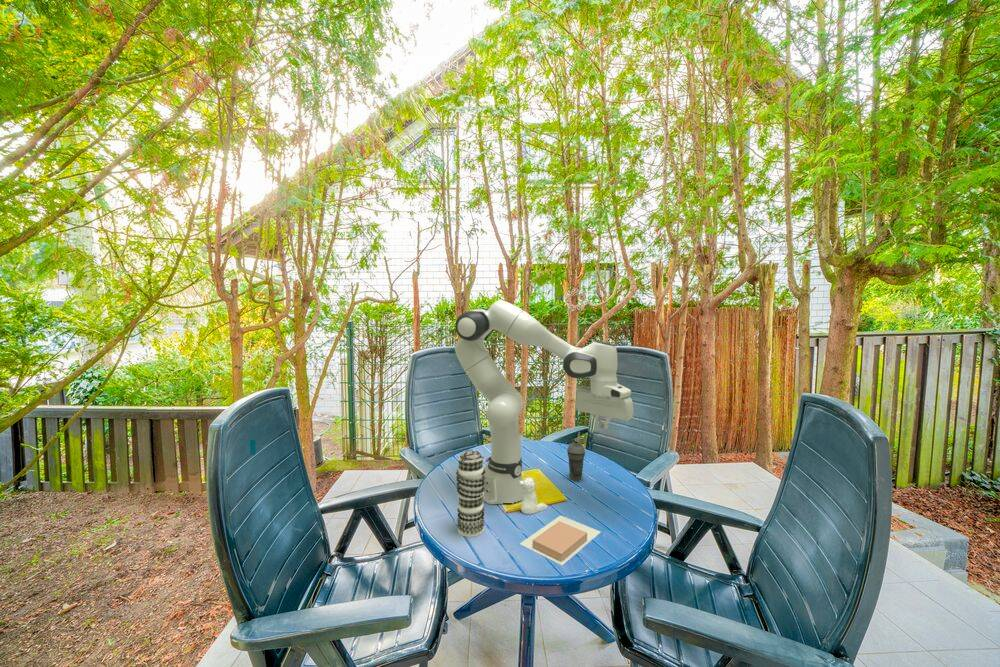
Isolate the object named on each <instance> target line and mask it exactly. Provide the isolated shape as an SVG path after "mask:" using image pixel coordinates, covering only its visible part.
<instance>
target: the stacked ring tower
mask: <svg viewBox="0 0 1000 667" xmlns="http://www.w3.org/2000/svg"><path fill="white" fill-rule="evenodd" d="M484 458H485V456H484V455H483V454H481V452H480V451H478V450H474V449H472V450H471V449H470V450H465V451H463V452H462V453H461V454H460V455H458V457H457V459H458V467H457V469H456V472H455V474H456V482H457V483H456V492H457V493H456V494H457V497H458V507H457V517H458V518H457V531H458V534H459V533H460V534H459V535H460V536H463V537H466V538H474V537H478V536H480V535H482V534H483V533H484V532H485V517H484V516H485V507H484V501H483V496H484V490H485V488H484V487H483V485H484V484H485V482H484V479H485V477H484V476H483V475H484V474H485V470H484V465H483V463H484V461H483V459H484Z"/></svg>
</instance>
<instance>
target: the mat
mask: <svg viewBox="0 0 1000 667" xmlns="http://www.w3.org/2000/svg"><path fill="white" fill-rule="evenodd" d="M559 521H560V522H563V523H565V524H567V525H570V526H572V527H575V528H577V529H579V530H582V531H584V532H587V540H586V541H584V542H583V543H582V544H581V545H580V546H579V547H577V548H576V549H575V550H574V551H573V552H571V553H570V554H569V555H568V556H567V557H566V558H564V559H563V560H562V561H560V560H558V559H556V558H554V557H552V556H550V555H548V554H546V553H544V552H542V551H540V550H538V549H536V548H534V547H533V539H535V538H536V537H538V536H539V535H540V534H542V533H543V532H545V531H546V530H547V529H549V528H550V527H552V526H553V525H554V524H556V523H557V522H559ZM601 533H602V532H601V531H600V530H597V529H595V528H593V527H590V526H588V525H586V524H583V523H580V522H578V521H577V520H573V519H571V518H569V517H565V516H563V515H559V516H557V517H556V518H554V519H553V520H552V521H550V522H549V523H548V524H546V525H544V526H543V527H542V528H540V529H538V530H537V531H536V532H534V533H533V534H531V535H530V536H528V537H527V538H526V539H524V540H523V541H521V542H519V545H521V546H523V547H525V548H527V549H529V550H530V551H532V552H535V553H536V554H539V555H541V556H543V557H544V558H547V559H549V560H550V561H553V562H554V563H557V564H558V565H560V566H564V565H565V564H566V563H567V562H568V561H569V560H570V559H572V558H573V557H574V556H576V554H577V553H578V552H580V551H581V550H582V549H583V548H584V547H585V546H587V545H588V544H589V543H591V542H592V541H593V539H595V538H596V537H597V536H598V535H599V534H601Z"/></svg>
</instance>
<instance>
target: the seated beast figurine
mask: <svg viewBox="0 0 1000 667" xmlns="http://www.w3.org/2000/svg"><path fill="white" fill-rule="evenodd" d="M520 485H521V486H522V488H523V489H524V494H523V499H522V500H521V501H520V507H519V508H520V510H521V511H520V512H522V513H523V514H524V515H534V514H536V513H539V512H542V511H544V510H546V509H548V505H547V504H546V503H544V502H540V503H538V501H537V500H538V499H537V498H538V495H537V494H536V491H535V489H536V486H537V485H536V483H535V481H534V480H533V479H532V478H531V477H526V478H524V479H523V480H522V481H520Z"/></svg>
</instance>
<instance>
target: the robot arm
mask: <svg viewBox="0 0 1000 667" xmlns="http://www.w3.org/2000/svg"><path fill="white" fill-rule="evenodd" d="M454 329H455V333H456V334H457V335H458V337H459V338H460V339H459V340H458V341H457V342H456V344H455V346H454V352H455V355H456V357H457V360H458V361H459V363H460V365H461V367H462V369H463V371H464V372H465V374H466V375H467V377H468V379H469V380H470V381H471V383H472V385H473V386H474V388H475V390H477V391H478V392H480V393H481V394H483V396H485V398H486V399H487V400H488V401H489V403H488V406H487V410H486V419H487V421H488V428H489V433H490V444H491V445H490V448H491V449H490V452H491V453H490V456H489V457H487V458H486V459H485V462H486V463H487V462H488V463H487V465H486V466H485V467H483V469H484V470H485V474H484V475H483V476H484V477H485V479H484V482H485V484H484V485H483V487H484V488H485V490H484V496H483V502H485V503H487V505H498V504H500V505H504V504H503V503H512V504H515V503H514V502H516V503H519V502H522V500H523V494H524V493H525V490H524V488H522V486H521V485H520V481H523V476H522V470H523V459H522V456H521V455H522V454H521V453H522V448H521V447H522V440H521V439H522V438H521V435H520V426H519V417H520V414H521V413H522V411H523V409H524V399H523V396H522V394H521V393H520V392H519V391H518V390H517V389H516V388H515V387H514V386H513V385H512V383H511V382H510V381H509V380H508V379H507V378H506V376H505V375H504V374H503V373H502V371H501V370H500V368H499V366H497V364H496V362H495V360H493V358H492V356H491V355H490V354H489V352H488V351H487V348H486V347H485V344H484V342H485V341H487V339H489V336H490V335H491V334H492V333H493V332H494V331H498V332H500V333H501V334H503V335H504V336H506V337H507V338H509V339H510V340H512V341H514V342H516V343H519V344H521V345H523V346H535V347H540V348H542V349H545V350H546V351H547V352H550V353H552V354H553V355H554V356H556V357H557V358H559V359H562V361H563V362H562V368H563V371H564V372H565V374H566V375H567V376H568V377H570V378H573V379H583V378H584V379H585V378H590V384H589V385H590V386H589V385H584V384H581V385H580V386H577V388H576V399H575V410H576V411H578V412H581V413H586V414H591V415H594V418H595V421H596V422H597V428H599V429H603V430H608V428H609V423H610V421H611V420H612V419H617V420H621V421H626V422H627V421H630V420H631V419H633V417H634V402H633V399H632V398H631V397H630V396H632V390H631V389H630V388H628V387H626V386H624V385H622V384H621V383H619V382H618V377H617V370H618V351H617V347H616V345H614V344H613V343H611V342H608V341H604V340H593V341H592V342H591V343H590V344H588V345H586V346H577V345H575V344H574V345H573V344H571V343H569V342H567V341H566V340H564V339H562V338H561V337H559V336H557V334H555V333H552V332H551V331H550V330H548V328H546V326H544V325H543V324H542V323H540V322H539V321H538V320H537V319H536V318H535V317H533V316H532V315H531V314H530V313H528V312H527V311H525V310H524V309H522V308H521V307H519V306H518V305H515V304H513V303H510V302H508V301H506V300H503V299H499V300H495V302H493V303H492V304H491V305H490V306H489V307H488V309H487V308H473V309H471V310H469V311H464V312H462V313H461V314H460V315H459V316H458V317H457V318H456V320H455V324H454ZM601 417H604V420H605V422H603V421H602V418H601ZM518 501H519V502H518Z"/></svg>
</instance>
